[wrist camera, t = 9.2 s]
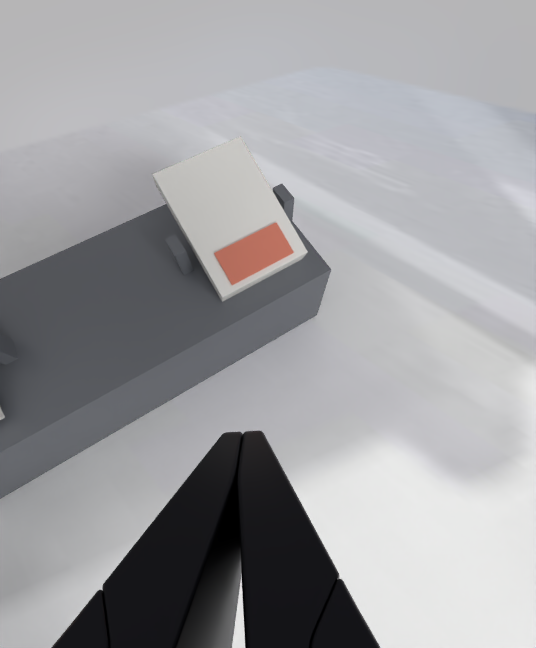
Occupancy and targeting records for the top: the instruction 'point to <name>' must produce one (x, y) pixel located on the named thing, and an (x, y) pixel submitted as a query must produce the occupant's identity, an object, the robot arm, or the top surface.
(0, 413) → the rocker switch
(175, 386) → the power strip
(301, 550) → the robot arm
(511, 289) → the top surface
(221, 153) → the outlet rocker
